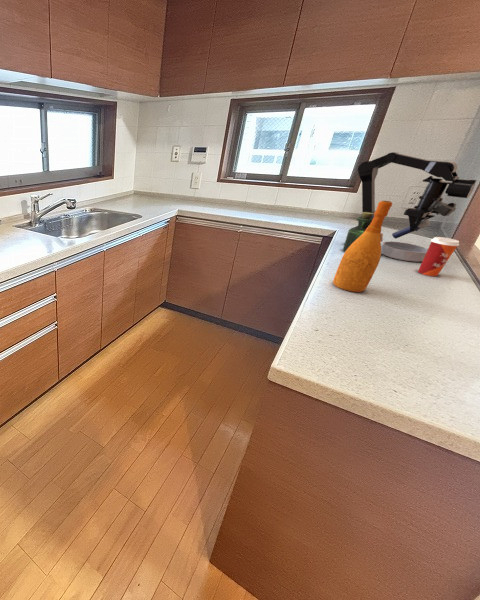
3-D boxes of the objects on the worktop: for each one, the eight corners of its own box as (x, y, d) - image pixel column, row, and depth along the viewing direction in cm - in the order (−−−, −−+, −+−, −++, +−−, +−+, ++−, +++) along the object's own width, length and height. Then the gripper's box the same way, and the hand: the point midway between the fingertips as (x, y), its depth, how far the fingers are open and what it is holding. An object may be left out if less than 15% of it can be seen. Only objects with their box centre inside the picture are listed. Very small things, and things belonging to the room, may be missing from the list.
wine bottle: (367, 295, 109) (411, 205, 95) (332, 288, 114) (369, 201, 100) (363, 285, 117) (403, 200, 103) (330, 279, 121) (364, 196, 107)
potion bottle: (355, 255, 146) (373, 215, 138) (336, 250, 153) (352, 211, 145) (365, 253, 150) (383, 214, 141) (346, 248, 156) (362, 210, 148)
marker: (390, 233, 148) (424, 219, 137) (393, 232, 149) (427, 218, 138) (394, 239, 147) (428, 225, 136) (397, 238, 148) (431, 224, 138)
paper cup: (436, 278, 124) (456, 243, 118) (410, 271, 130) (428, 237, 124) (444, 275, 127) (464, 240, 121) (419, 268, 133) (437, 235, 127)
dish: (414, 264, 138) (420, 254, 135) (371, 253, 150) (375, 243, 148) (431, 259, 144) (437, 249, 142) (388, 248, 157) (393, 239, 155)
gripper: (448, 199, 124) (427, 238, 132) (468, 196, 132) (447, 233, 139) (412, 194, 133) (394, 231, 140) (432, 191, 141) (414, 227, 148)
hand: (413, 231), depth 142 cm, fingers closed on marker, 3 cm apart
